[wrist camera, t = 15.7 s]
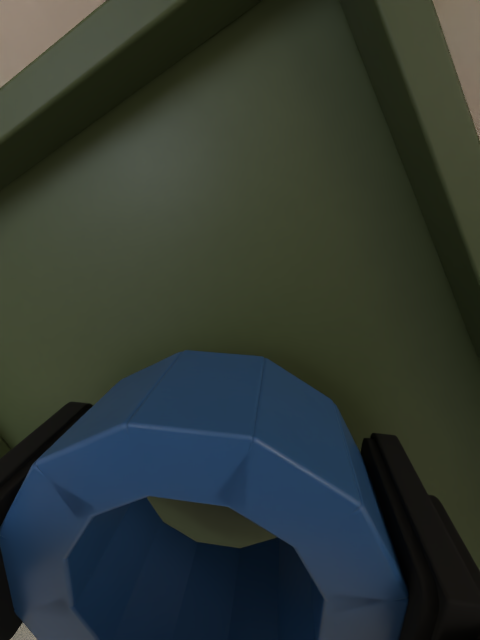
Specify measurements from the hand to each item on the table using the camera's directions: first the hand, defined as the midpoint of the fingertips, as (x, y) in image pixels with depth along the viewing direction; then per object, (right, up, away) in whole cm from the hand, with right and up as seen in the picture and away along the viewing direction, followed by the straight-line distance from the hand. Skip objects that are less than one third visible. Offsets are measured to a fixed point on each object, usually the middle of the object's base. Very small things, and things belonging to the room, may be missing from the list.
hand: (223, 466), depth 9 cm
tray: (0, 0, +2) cm, 2 cm away
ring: (0, 0, 0) cm, 0 cm away
